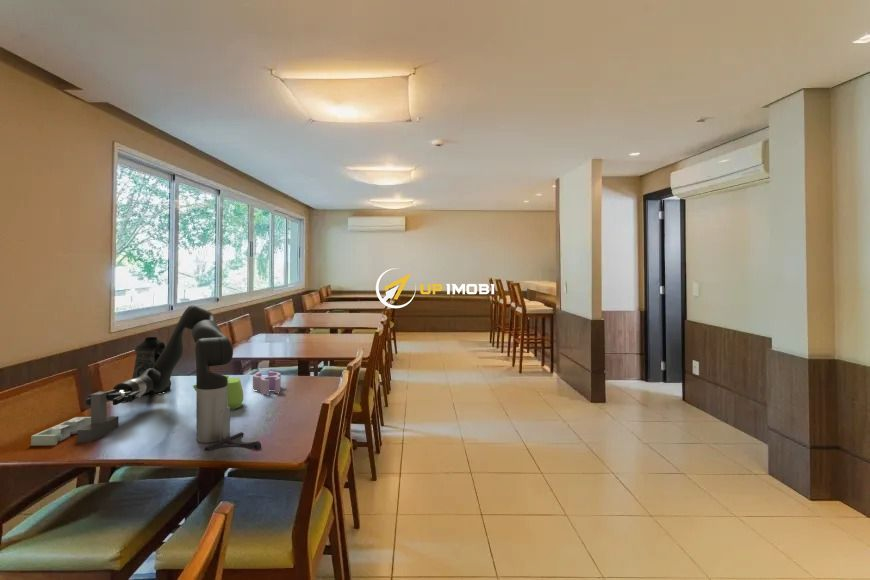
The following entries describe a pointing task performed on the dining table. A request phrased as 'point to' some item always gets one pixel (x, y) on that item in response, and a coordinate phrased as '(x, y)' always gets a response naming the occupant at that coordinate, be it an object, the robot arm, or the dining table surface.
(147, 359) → the beer stein
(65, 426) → the grey cube block
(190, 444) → the dining table surface
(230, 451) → the dining table surface
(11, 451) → the dining table surface
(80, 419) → the beige cube
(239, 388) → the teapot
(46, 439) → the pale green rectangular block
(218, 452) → the dining table surface
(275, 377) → the clip
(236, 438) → the bracket
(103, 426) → the gray t-shaped block
